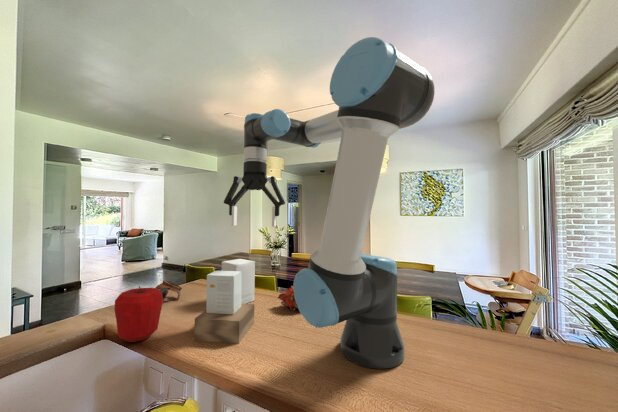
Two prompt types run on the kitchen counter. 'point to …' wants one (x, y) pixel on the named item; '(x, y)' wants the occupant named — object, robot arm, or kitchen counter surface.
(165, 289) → the brown grey ring
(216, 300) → the small box
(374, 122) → the robot arm
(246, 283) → the supplement box
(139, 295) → the apple
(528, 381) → the kitchen counter surface
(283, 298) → the dragon fruit
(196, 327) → the walnut block
